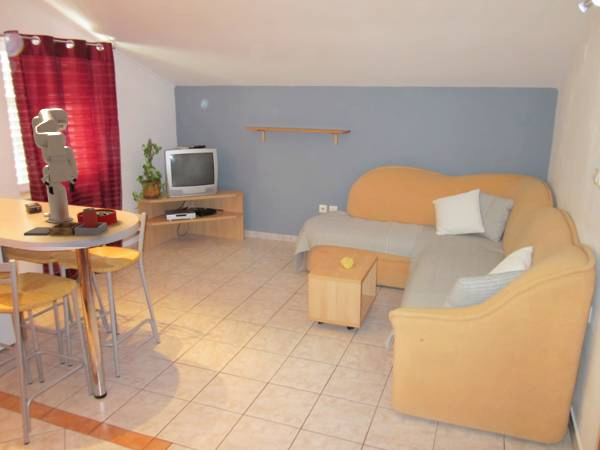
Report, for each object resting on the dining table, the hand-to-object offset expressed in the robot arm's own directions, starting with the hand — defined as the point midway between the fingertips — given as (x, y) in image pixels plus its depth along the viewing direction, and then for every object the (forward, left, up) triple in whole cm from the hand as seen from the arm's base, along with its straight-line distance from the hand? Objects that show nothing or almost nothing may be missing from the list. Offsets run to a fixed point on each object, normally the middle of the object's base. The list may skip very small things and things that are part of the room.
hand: (62, 193), depth 258 cm
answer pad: (-13, 0, -20) cm, 24 cm away
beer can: (+13, 0, -21) cm, 24 cm away
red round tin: (+7, +20, -21) cm, 30 cm away
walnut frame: (0, 0, -20) cm, 20 cm away
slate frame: (+13, 0, -20) cm, 24 cm away
